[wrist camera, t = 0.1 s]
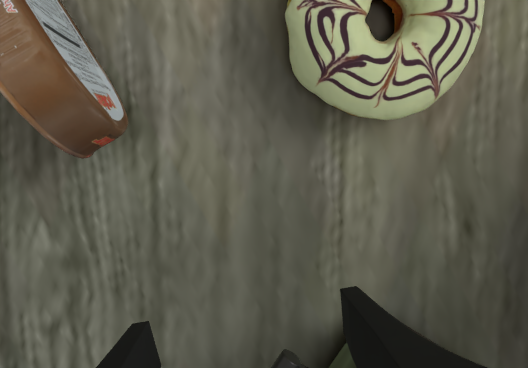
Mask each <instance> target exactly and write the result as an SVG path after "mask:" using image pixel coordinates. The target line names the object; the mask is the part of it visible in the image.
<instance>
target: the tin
mask: <svg viewBox="0 0 528 368" xmlns="http://www.w3.org/2000/svg"><path fill="white" fill-rule="evenodd" d="M0 92H1V94H2V95H3V96H4V97H5V98H6V99H7V100H8V101H9V102H10V104H11V105H12V106H13V107H14V108H15V109H16V110H17V112H18V113H19V114H20V115H21V116H22V117H23V118H24V119H26V120H27V121H28V122H29V123H30V124H31V125H32V126H33V127H34V128H35V129H36V130H37V131H38V132H39V133H40V134H41V135H42V136H44V137H45V138H46V139H47V140H49V141H50V142H51V143H52V144H54V145H55V146H57V147H58V148H60V149H61V150H63V151H64V152H66V153H68V154H71V155H73V156H75V157H78V158H88V157H90V156H92V155H93V153H94V152H95V151H96V150H98V149H99V148H101V147H102V146H104V145H106V144H108V143H110V142H111V141H113V140H115V139H116V138H118V137H119V136H121V135H122V134H123V133H124V132H125V130H126V128H127V125H128V117H127V114H126V111H125V108H124V106H123V104H122V101H121V99H120V97H119V96H118V94H117V92H116V90H115V88H114V86H113V85H112V83H111V81H110V80H109V78H108V76H107V75H106V73H105V72H104V70H103V68H102V67H101V65H100V64H99V62H98V61H97V59H96V57H95V56H94V54H93V53H92V51H91V49H90V48H89V46H88V45H87V43H86V41H85V40H84V38H83V37H82V35H81V33H80V32H79V30H78V29H77V27H76V25H75V24H74V22H73V21H72V19H71V17H70V16H69V14H68V13H67V11H66V10H65V8H64V6H63V5H62V3H61V2H60V0H0Z"/></svg>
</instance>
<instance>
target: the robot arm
mask: <svg viewBox="0 0 528 368" xmlns="http://www.w3.org/2000/svg"><path fill="white" fill-rule="evenodd" d="M340 292H341V304H342V316H343V328H344V335H345V338H346V341H347V344H348V347H349V350H350V353H351V356H352V359H353V361H354V363H355V365H356V368H487V367H484V366H482V365H479V364H476V363H474V362H472V361H469V360H467V359H465V358H462V357H460V356H458V355H456V354H454V353H452V352H450V351H448V350H445V349H444V348H442V347H440V346H438V345H436V344H434V343H432V342H431V341H429V340H427V339H426V338H424V337H422V336H420V335H419V334H417V333H416V332H414V331H412V330H411V329H410V328H408V327H407V326H405V325H404V324H402V323H401V322H400V321H398V320H397V319H396V318H394V317H393V316H392V315H390V314H389V313H388V312H387V311H385V310H384V309H383V308H382V307H380V306H379V305H378V304H377V303H376V302H374V301H373V300H372V299H371V298H370V297H369V296H367V295H366V294H365V293H364V292H363V291H362V290H361V289H359V288H358V287H357V286H354V287H348V288H342V289H340ZM96 368H161V362H160V359H159V355H158V352H157V348H156V345H155V341H154V338H153V334H152V331H151V327H150V324H149V321H146V322H140V323H134V324H132V325H131V326H130V327H129V328H128V329H127V331H126V332H125V333H124V334H123V336H122V337H121V338H120V339H119V341H118V342H117V343H116V344H115V346H114V347H113V348H112V349H111V350H110V352H109V353H108V354H107V355H106V356H105V358H104V359H103V360H102V361H101V362H100V364H99V365H98V366H97V367H96Z"/></svg>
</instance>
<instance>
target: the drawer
mask: <svg viewBox="0 0 528 368" xmlns="http://www.w3.org/2000/svg"><path fill="white" fill-rule="evenodd" d="M271 368H308V367H306V366H304V365H303V364H301V362H300V360H299V358H298V357H297V356H296V355H295V354H294V353H293V352H291V351H289V350H287V349H284V350H283V351H282V352H281V354H280V355H279V356H278V358H277V359H276V361H275V362H274V364H273V365H272V366H271ZM328 368H356V365H355V363H354V361H353V359H352V356H351V353H350V350H349V347H348V344H347V342H346V344H345V345H344V347H343V348H342V349H341V351H340V352H339V354H338V355H337V356H336V358H335V359H334V360H333V362H332V363H331V365H330V366H329V367H328Z"/></svg>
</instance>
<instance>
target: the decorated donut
mask: <svg viewBox="0 0 528 368" xmlns="http://www.w3.org/2000/svg"><path fill="white" fill-rule="evenodd" d="M383 1H384V2H385V3H387V4H388V5H389V6H390V7H391V8H392V13H394V14H395V15H394V17H395V25H394V26H395V30H394V34H392V36H391V37H390V38H389V39H387V40H386V41H383V42H380V41H377V40H376V39H375V38H374V37H373V36H372V34H371V32H370V29H369V26H368V25H367V24H366V22H365V18H366V16H367V14H368V12H369V9H370V3H371V2H372V0H288V3H287V10H286V12H285V19H286V24H287V30H288V34H289V47H290V51H289V58H290V62H291V66H292V71H293V73H294V75H295V76H296V78H297V79H298V81H299V82H300V83H301V84H302V85H303V86H304V87H305V88H306V89H308V90H309V91H310V92H312V93H314V94H316V95H317V96H318V97H320V98H321V99H322V100H323V101H324V102H326V103H328V104H329V105H332V106H334V107H335V108H337V109H339V110H341V111H344V112H346V113H348V114H350V115H353V116H358V117H365V118H373V119H379V120H391V119H399V118H403V117H406V116H408V115H411V114H415V113H417V112H420V111H423V110H425V109H427V108H428V107H429V106H430V105H432V104H433V103H434V102H435V101H436V100H437V99H438V98H439V97H440V96H442V95H443V94H444V93H445V92H446V91H447V90H448V89H449V88H450V87H451V86H452V85H453V84H454V82H455V81H456V80H457V78H458V77H459V76H460V74H461V72H462V70H463V69H464V67H465V66H466V64H467V63H468V61H469V59H470V57H471V55H472V53H473V52H474V49H475V46H476V43H477V40H478V38H479V35H480V32H481V27H482V17H483V13H484V3H485V0H383Z"/></svg>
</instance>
